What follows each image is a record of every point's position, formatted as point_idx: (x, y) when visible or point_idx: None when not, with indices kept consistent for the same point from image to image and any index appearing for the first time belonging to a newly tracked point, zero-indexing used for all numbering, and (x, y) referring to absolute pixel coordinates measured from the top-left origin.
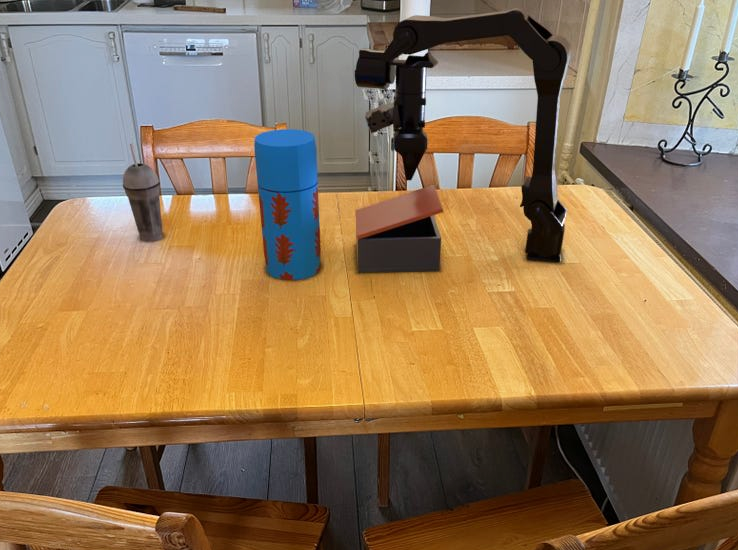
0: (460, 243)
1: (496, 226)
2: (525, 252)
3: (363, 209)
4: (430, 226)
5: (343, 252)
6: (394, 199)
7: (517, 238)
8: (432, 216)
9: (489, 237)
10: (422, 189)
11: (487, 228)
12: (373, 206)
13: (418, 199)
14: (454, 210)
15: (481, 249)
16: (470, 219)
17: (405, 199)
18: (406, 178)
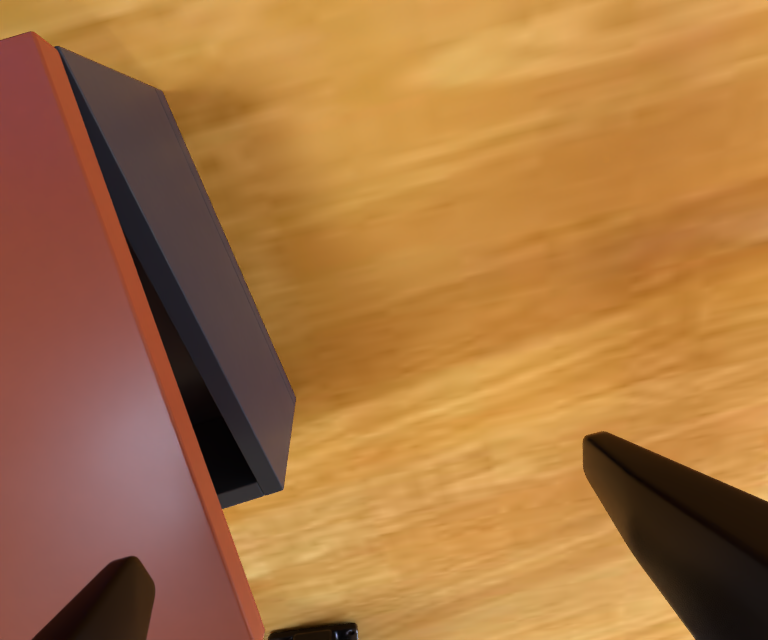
0: (330, 476)
1: (485, 535)
2: (294, 635)
3: (14, 115)
4: (220, 465)
5: (48, 36)
6: (110, 374)
7: (408, 590)
8: (233, 498)
9: (399, 534)
10: (202, 580)
11: (466, 518)
12: (41, 203)
13: (23, 586)
14: (608, 407)
15: (303, 533)
16: (532, 465)
17: (70, 474)
18: (96, 583)
